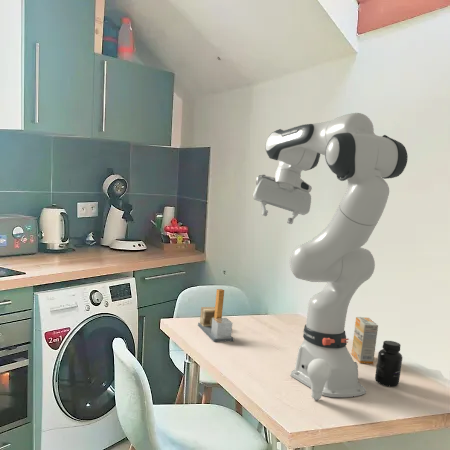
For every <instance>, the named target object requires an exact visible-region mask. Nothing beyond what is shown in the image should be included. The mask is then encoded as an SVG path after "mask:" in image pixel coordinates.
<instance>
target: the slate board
mask: <svg viewBox="0 0 450 450" xmlns="http://www.w3.org/2000/svg"><path fill="white" fill-rule="evenodd" d="M197 326H198V327H199V328H200V329H201V330H202V332H204V334H206V336H208V337H209V339H210V340H211V341H212V342H213V343H222V342H223V343H224V342H227V343H228V342H234V339H235V338H234V337H232V336H231V338H229V339H216V338H215V337H214V336H213V335H212V334H211V328H212V326H202V325H201V324H200V322H198V323H197Z"/></svg>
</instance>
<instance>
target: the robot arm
mask: <svg viewBox="0 0 450 450" xmlns="http://www.w3.org/2000/svg"><path fill="white" fill-rule="evenodd" d="M374 130H375V129H374V125H373V122H372V120H371V119H370V118H369V116H367V115H366V114H364V113H361V112H353V113H352V112H351V113H348V114H344V115H340V116H339V117H336V118H334V119H331V120H327V121H324V122H316V123H306V124H301V125H298V126H294V127H290V128H288V129H284V130H283V129H281V128H280V129H276V130H275V131H273V132H271V133H270V134H269V136H268V137H267V138H266V142H265V145H264V146H265V148H264V149H265V152H266V154H267V156H268V158H269V159H271V160H274V161H278V166H277V168H276V169H275V173H274V177H272V176H269V175H266V174H260V175H258V176H257V177H256V181H255V184H256V186H255V188H254V189H253V194H252V198H253V200H255V201H258V202H260V206H261V210H262V212H261V215H262V216H264V217H267V216H268V213H269V210H267V207H266V205H269V206H272V207H276V208H280V209H283V210H285V211H289V212H292V217H288V219H287V224H289V225H292V224H293V223H294V219H296V217H298V215H301V216H305V215H307V214H309V212H310V210H311V203H312V195H311V193H310V192H311V191H312V190H313V189H312V186H311V185H310V184H309V183H307V181H304V180H303V179H302V178H301V173H302V172H303V171H305V172H306V171H309V170H312V169H314V168H315V167H317V166H318V164H319V162H320V159H321V155H322V156H324V158H325V163H326V165H327V166H328V169H330V171H331V172H332V173H333V174H335V175H336V178H337V179H338V180H339V181H341V182H343V181H346V180H347V188H346V191H345V193H344V195H343V197H342V199H341V200H340V203H339V205H338V207H337V209H336V210H335V213H334V215H333V216H332V218H331V220H330V221H329V223H328V224H327V226H325V228H324V229H323V230H322V231H321V232H320V233H318V234H317V235H316V236H314V237H313V238H312V239H311V240H308V241H306V242H304V243H302V244H300V245H296V247H295V248H294V249H293V250H292V252H291V254H290V258H289V267H290V270H291V273H292V274H293V276H294V277H295V278H297V279H298V280H302V281H306V282H311V283H326V285H325V286H324V287H323V289H321V291H319V292H317V293H316V294H314V295H313V296H312V297H311V298H310V300H309V301H308V303H307V304H308V306H307V315H306V322H305V325H304V328H303V331H302V332H303V334H302V337H303V341H302V343H301V345H300V346H299V348H298V351H297V355H296V359H295V367H294V369H292V370H291V371H290V376H291V377H292V378H294V379H296V381H297V380H298V382H301V383H302V384H303V385H305V386H307V387H309V388H310V389H311V380H310V378H309V375H308V371H307V369H308V365H309V363H310V362H311V361H312V360H314V359H318V358H320V359H324V360H325V361H327V362H328V363H329V365H330V367H331V375H330V377H329V379H328V380H327V381H326V383H325V385H324V388H323V391H322V395H321V396H325V397H331V398H352V397H353V396H354V397H359V396H362V395H365V394H366V392H367V389H366V387H364V385H362V384H361V382H359V369H358V366H359V364H358V362H357V361H354V359H353V357H352V354H350V351H349V350H348V348H347V343H349V338H347V333H346V330H345V327H346V321H347V320H346V319H347V312H348V308H349V306H350V303H351V301H352V298H353V296H354V295H355V293H356V291H357V290H358V289H359V288H360V287H361V285H362V284H364V283H365V282H367V281H368V280H369V279H370V278H371V277H372V276H373V274H374V272H375V267H376V263H375V258H374V255H373V254H372V252H371V251H370V250H369V249H367V248H363V246H364V245H365V244H367V242H368V241H369V239H370V237H371V236H372V233H373V231H374V230H375V228H376V227H377V225H378V224H379V223H378V222H379V221H380V219H381V217H382V214H384V213H383V212H384V210H385V208H386V204H387V202H388V199H389V195H390V187H389V185H388V183H387V181H386V180H385V179H394V178H397V177H399V176H400V175H402V173H404V171H405V169H406V167H407V164H408V151H407V149H406V147H405V145H404V144H403V143H402V142H400V141H398V140H396V139H394V138H392V137H389V136H388V135H386V134H384V135H382V136H381V135H377V134H375V131H374Z"/></svg>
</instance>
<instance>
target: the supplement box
mask: <svg viewBox="0 0 450 450" xmlns="http://www.w3.org/2000/svg"><path fill="white" fill-rule="evenodd" d="M354 323H355V324H354V332H353V337H352V338H353V339H352V345H351V346H352V347H351V356H353V357H354V358H355V359H356V360H357V361H358V363H359V364H369V365H372V364H373V365H374V360H375V352H376V344H377V337H378V330H379V325H378V323H376V322H374V321H373V320H372V319H371V318H370V317H362V316H356V317H355V322H354Z"/></svg>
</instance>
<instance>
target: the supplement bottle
mask: <svg viewBox="0 0 450 450" xmlns="http://www.w3.org/2000/svg"><path fill="white" fill-rule="evenodd" d="M382 342H383V344H382V349H380V350H379V351H378V353H377V359H376V368H375V375H374V381H375V382H376V383H378V384H380V385H382V386H384V385H385V387H389V386H390V388H391V387H392V388H394V387H397V386H399V384H400V379H401V370H402V365H403V364H402V363H403V355H402V354H401V343H400V342H397V341H393V340H384V341H382Z"/></svg>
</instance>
